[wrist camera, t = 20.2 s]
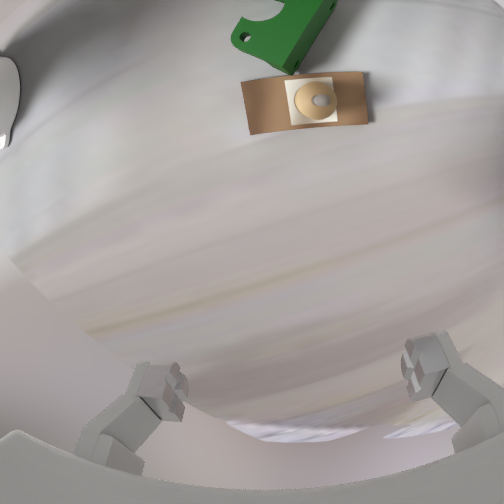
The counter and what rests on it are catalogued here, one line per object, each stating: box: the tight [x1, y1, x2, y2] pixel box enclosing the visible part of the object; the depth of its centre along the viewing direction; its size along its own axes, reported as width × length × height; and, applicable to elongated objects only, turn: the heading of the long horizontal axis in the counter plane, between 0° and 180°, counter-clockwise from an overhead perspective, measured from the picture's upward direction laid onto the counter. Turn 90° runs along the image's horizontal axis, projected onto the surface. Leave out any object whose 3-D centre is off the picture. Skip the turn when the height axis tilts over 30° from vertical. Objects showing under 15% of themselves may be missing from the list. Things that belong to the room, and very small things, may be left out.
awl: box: [294, 81, 337, 120], centre depth 23 cm, size 4×4×9 cm
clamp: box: [231, 0, 338, 75], centre depth 21 cm, size 12×6×9 cm, turn 147°
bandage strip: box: [241, 72, 368, 135], centre depth 27 cm, size 13×6×1 cm, turn 100°
